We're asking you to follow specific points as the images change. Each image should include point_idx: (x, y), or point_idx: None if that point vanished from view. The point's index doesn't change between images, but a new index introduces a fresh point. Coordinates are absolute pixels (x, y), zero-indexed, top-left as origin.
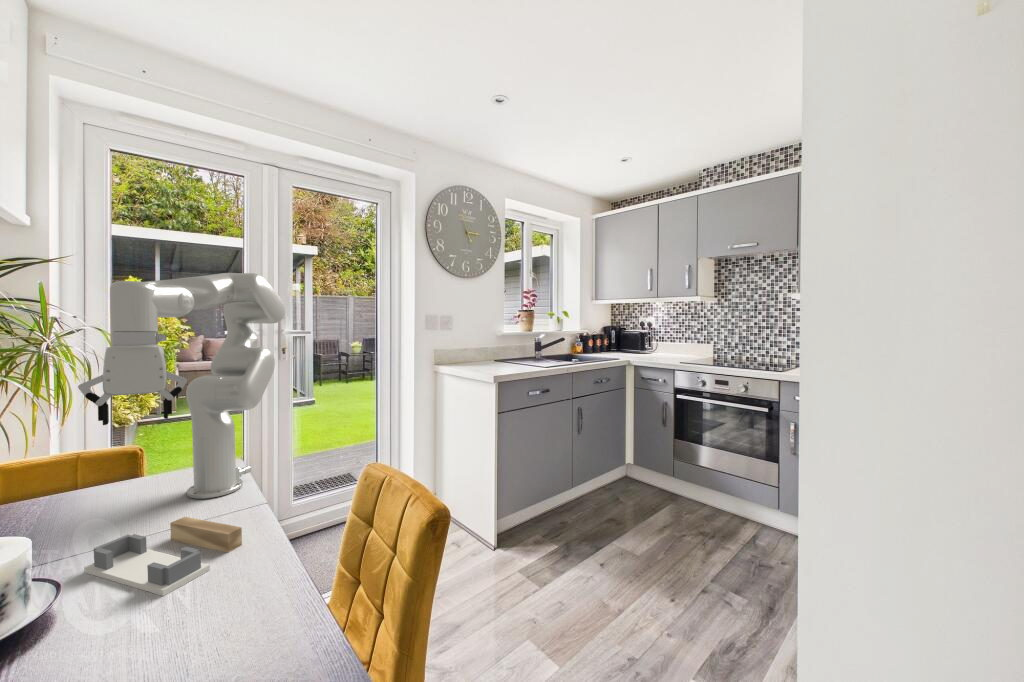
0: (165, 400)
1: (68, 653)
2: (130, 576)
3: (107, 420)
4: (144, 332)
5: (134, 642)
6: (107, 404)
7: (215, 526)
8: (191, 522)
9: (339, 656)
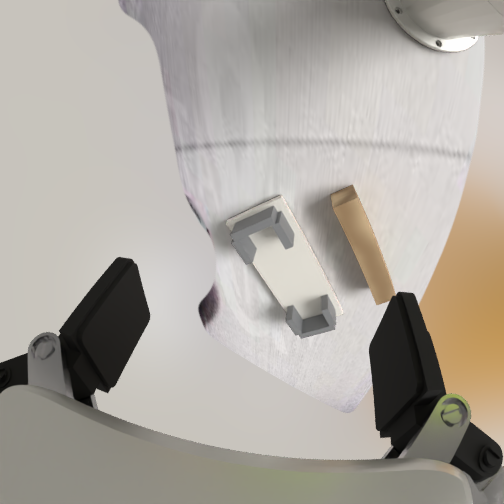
0: (391, 431)
1: (235, 339)
2: (273, 284)
3: (143, 328)
4: None
5: (272, 354)
6: (85, 351)
7: (377, 272)
8: (358, 233)
9: (351, 408)
